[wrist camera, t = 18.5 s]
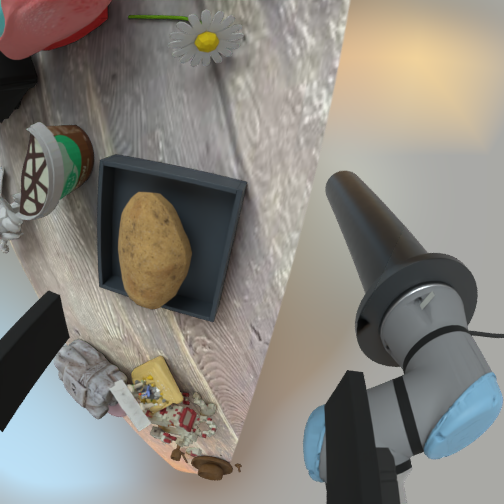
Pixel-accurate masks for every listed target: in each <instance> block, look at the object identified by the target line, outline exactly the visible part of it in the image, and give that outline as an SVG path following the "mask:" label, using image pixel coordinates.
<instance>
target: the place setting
mask: <svg viewBox="0 0 504 504" xmlns="http://www.w3.org/2000/svg"><path fill="white" fill-rule="evenodd" d="M176 440H177V438H176ZM181 454H182V456H183V458H184V460H185V462H186V463H187V460H186V459H185V457H184V453H182V452H181V451H180V446H179V445H177V448H176V449H174V450H173V451H172V454H171V459H173V460H176V461H180V458H181ZM191 464H192V466H193V467H195V468H196V469H198V475H199V476H200V477H202V478H205V479H209V480H221V479H222V476H223V475H225V474H230V473H231V472H232V470H233V468H232V466H231V465H230V464H229V463H228V462H226V461H224V460H222V459H219V458H215V457H210V456H199V457H196V458H194V459H193V460H192V462H191ZM235 466H236V467H238V471H239V472H241V471H240V467H242V466H241V465H240V464H235Z"/></svg>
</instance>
